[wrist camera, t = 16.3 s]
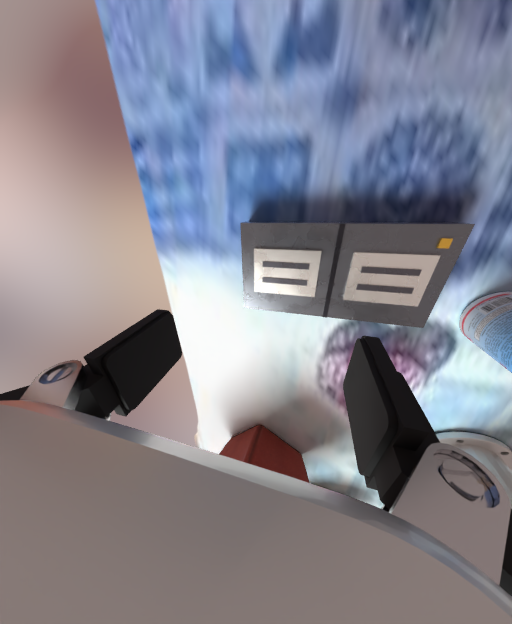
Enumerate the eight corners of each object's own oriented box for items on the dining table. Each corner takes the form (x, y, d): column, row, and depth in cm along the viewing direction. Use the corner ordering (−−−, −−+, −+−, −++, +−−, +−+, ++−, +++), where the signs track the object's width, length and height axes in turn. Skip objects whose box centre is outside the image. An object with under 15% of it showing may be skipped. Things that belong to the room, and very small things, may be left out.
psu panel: (451, 222, 18) (478, 224, 15) (410, 314, 22) (425, 329, 20) (248, 221, 22) (239, 223, 19) (250, 298, 27) (243, 309, 24)
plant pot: (269, 474, 50) (252, 578, 36) (213, 435, 48) (172, 529, 34) (324, 459, 41) (331, 593, 26) (257, 408, 38) (226, 526, 24)
